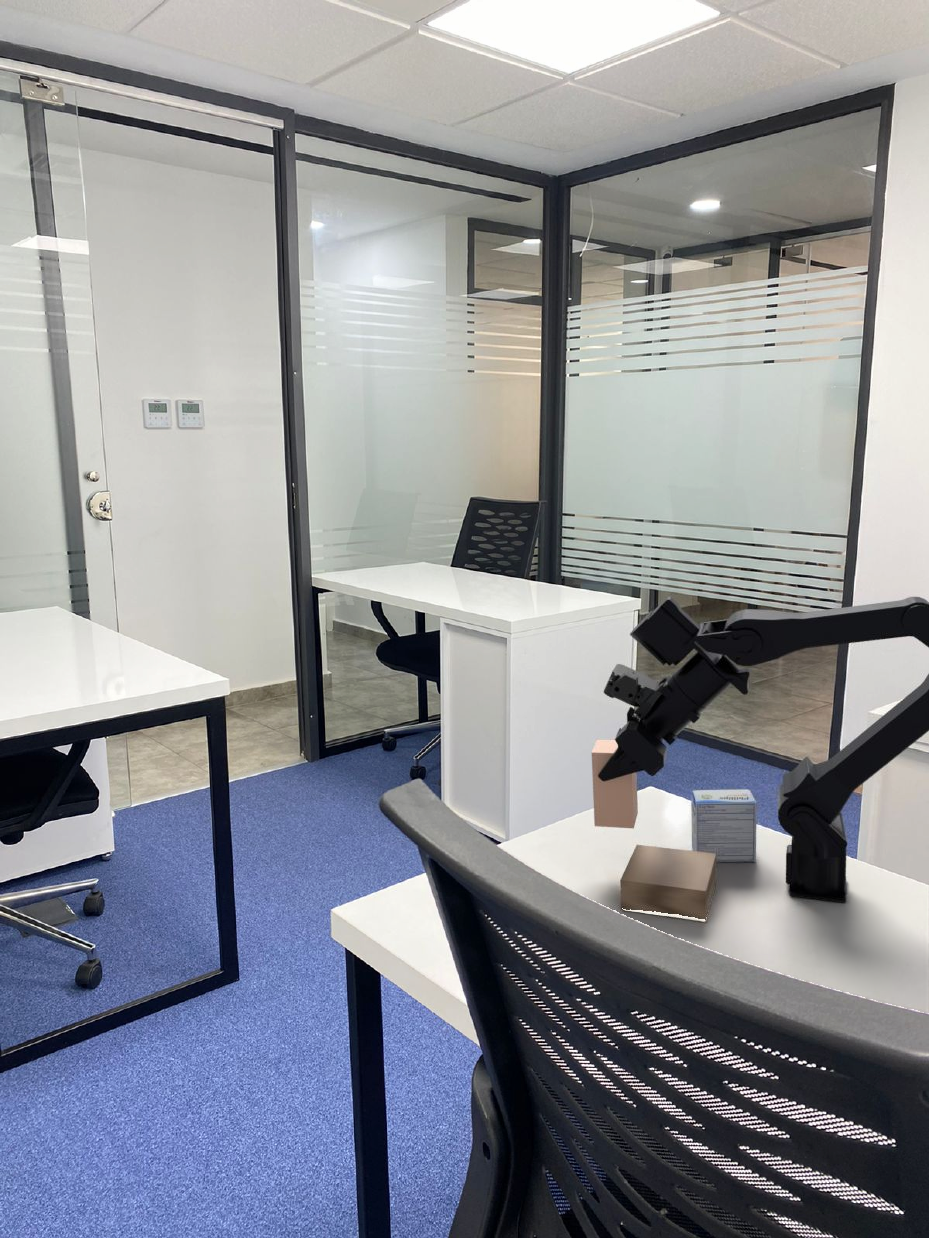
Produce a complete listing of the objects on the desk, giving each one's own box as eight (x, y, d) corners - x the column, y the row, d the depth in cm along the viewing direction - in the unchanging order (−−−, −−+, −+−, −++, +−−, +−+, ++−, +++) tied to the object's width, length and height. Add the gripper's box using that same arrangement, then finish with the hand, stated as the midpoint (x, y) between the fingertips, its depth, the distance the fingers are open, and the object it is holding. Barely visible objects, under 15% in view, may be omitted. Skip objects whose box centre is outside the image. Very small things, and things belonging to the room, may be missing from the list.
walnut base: (716, 882, 117) (716, 853, 116) (705, 922, 108) (705, 890, 107) (637, 872, 121) (636, 844, 120) (621, 910, 112) (620, 879, 111)
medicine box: (750, 848, 126) (750, 788, 124) (756, 863, 122) (757, 801, 120) (691, 848, 127) (690, 789, 125) (695, 863, 123) (695, 802, 121)
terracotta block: (637, 812, 122) (635, 740, 121) (633, 828, 118) (631, 753, 116) (600, 810, 124) (597, 739, 122) (594, 826, 119) (591, 752, 117)
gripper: (650, 629, 124) (573, 706, 129) (631, 664, 106) (542, 751, 112) (712, 687, 123) (631, 762, 128) (702, 732, 105) (609, 816, 111)
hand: (604, 770), depth 120 cm, fingers closed on terracotta block, 5 cm apart
